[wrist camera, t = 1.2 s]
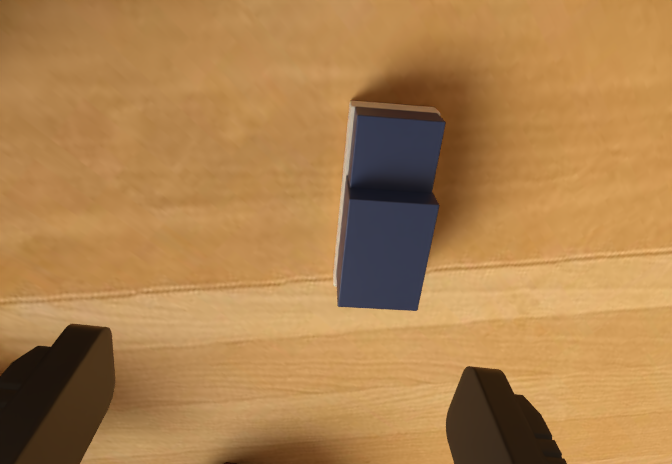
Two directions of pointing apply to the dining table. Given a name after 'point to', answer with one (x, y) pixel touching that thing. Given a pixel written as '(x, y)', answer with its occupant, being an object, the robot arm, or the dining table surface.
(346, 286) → the blue stepped block
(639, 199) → the dining table surface
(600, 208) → the dining table surface
